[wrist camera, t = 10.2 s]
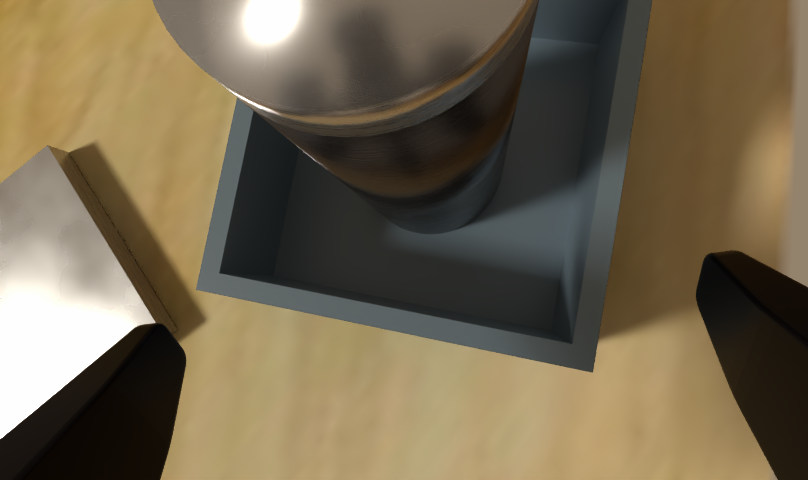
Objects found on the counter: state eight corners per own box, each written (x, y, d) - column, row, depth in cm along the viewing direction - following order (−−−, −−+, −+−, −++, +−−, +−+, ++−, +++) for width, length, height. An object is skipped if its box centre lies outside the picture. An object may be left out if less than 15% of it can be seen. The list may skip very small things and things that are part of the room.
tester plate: (177, 329, 19) (161, 332, 18) (4, 462, 20) (-21, 471, 19) (67, 152, 21) (47, 145, 20) (-90, 280, 21) (-118, 280, 20)
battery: (439, 263, 17) (342, 188, 5) (335, 175, 18) (21, -83, 6) (532, 153, 17) (681, -219, 5) (423, 70, 18) (303, -427, 6)
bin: (563, 350, 17) (593, 372, 13) (261, 288, 19) (196, 290, 14) (614, 38, 18) (658, -43, 13) (319, 8, 19) (273, -71, 15)
